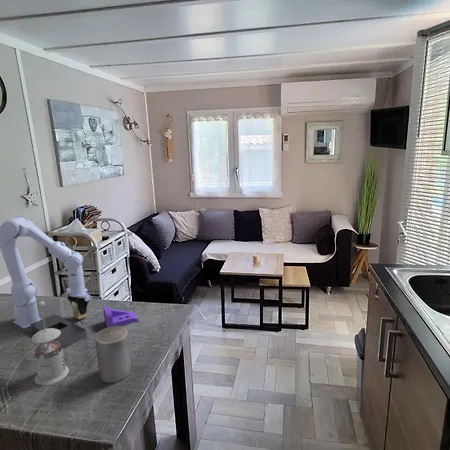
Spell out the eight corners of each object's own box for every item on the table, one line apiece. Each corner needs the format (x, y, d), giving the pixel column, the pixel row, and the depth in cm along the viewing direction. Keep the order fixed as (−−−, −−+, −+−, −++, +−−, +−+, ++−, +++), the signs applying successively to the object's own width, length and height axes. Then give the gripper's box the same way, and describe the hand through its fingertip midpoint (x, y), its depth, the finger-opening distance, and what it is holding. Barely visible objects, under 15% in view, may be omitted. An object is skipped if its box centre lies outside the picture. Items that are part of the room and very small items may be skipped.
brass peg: (73, 316, 140) (71, 301, 139) (82, 312, 144) (80, 297, 142) (78, 319, 138) (77, 303, 137) (87, 315, 141) (85, 300, 140)
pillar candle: (106, 362, 111) (101, 322, 108) (135, 362, 111) (131, 322, 107) (94, 383, 102) (88, 339, 98) (126, 383, 101) (121, 339, 98)
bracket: (108, 330, 132) (106, 314, 131) (104, 322, 138) (103, 307, 136) (138, 322, 138) (137, 306, 136) (133, 315, 144) (132, 300, 142)
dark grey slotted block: (31, 331, 132) (30, 324, 131) (56, 320, 140) (55, 314, 139) (61, 349, 119) (60, 342, 118) (86, 336, 127) (85, 329, 126)
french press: (45, 389, 99) (33, 312, 94) (24, 376, 105) (12, 303, 100) (75, 371, 107) (65, 299, 102) (54, 359, 113) (44, 291, 108)
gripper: (95, 282, 137) (98, 313, 140) (75, 275, 145) (79, 304, 148) (79, 288, 131) (83, 320, 134) (59, 280, 139) (63, 310, 142)
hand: (80, 312), depth 141 cm, fingers closed on brass peg, 4 cm apart
